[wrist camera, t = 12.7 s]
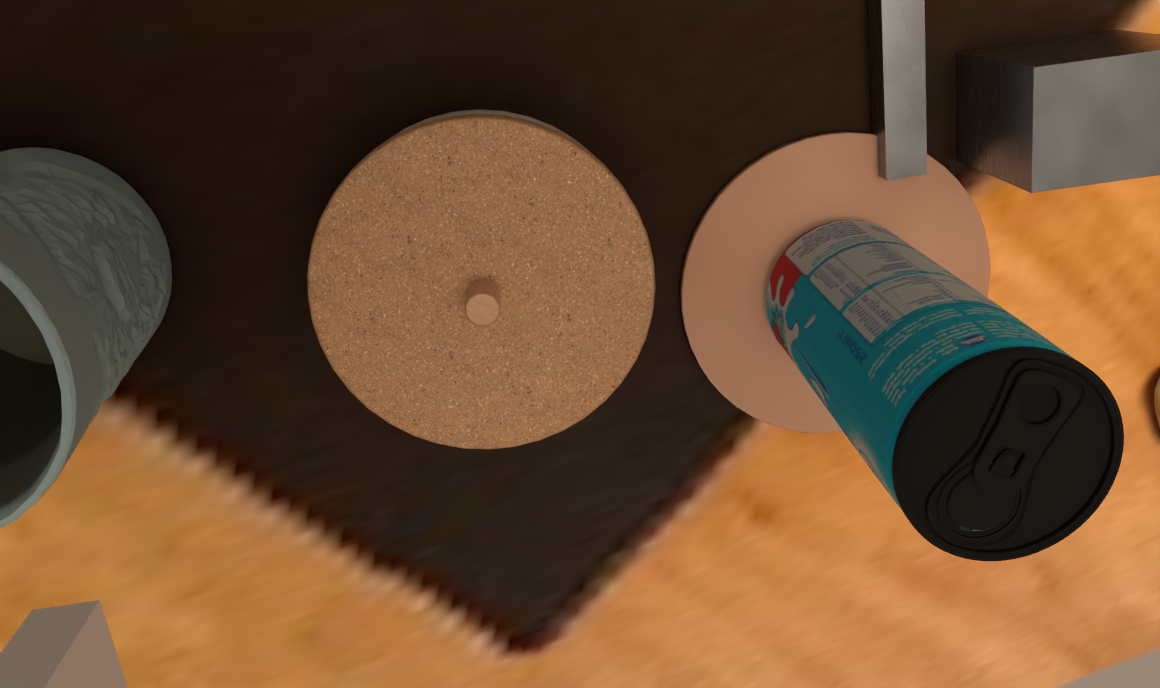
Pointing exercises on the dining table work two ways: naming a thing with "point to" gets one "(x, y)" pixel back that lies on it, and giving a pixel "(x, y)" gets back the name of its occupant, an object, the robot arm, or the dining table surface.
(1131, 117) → the dumbbell
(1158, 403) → the pastry
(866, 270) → the beverage can
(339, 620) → the dining table surface
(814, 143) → the coaster
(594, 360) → the lidded jar
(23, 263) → the green plant pot
